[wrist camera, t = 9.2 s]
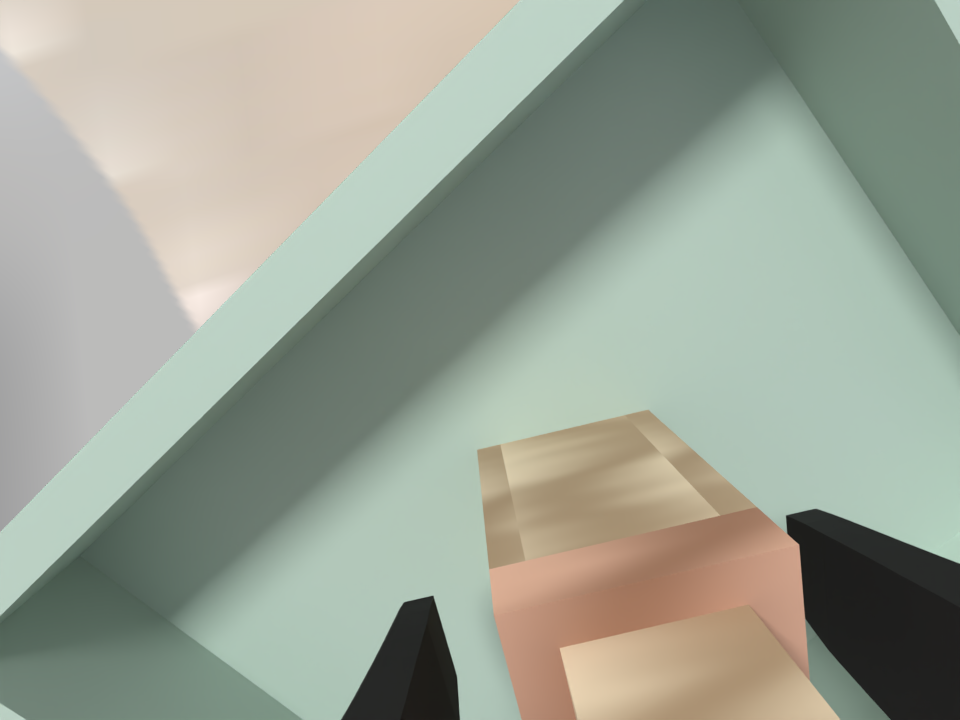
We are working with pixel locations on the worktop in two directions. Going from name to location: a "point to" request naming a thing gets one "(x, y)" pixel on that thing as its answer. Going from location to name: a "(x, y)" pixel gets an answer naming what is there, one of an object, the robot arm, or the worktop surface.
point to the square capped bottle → (640, 582)
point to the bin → (524, 354)
